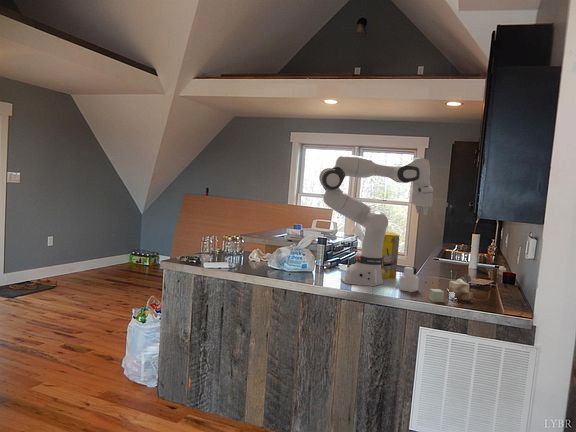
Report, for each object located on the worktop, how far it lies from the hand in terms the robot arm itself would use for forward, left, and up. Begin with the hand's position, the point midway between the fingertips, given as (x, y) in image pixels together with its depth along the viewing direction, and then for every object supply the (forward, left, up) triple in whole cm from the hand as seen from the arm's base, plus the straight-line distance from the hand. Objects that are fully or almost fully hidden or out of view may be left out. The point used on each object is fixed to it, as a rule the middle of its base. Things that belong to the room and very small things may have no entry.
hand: (421, 214), depth 252 cm
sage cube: (-1, -31, -39) cm, 50 cm away
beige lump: (+13, -24, -39) cm, 48 cm away
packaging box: (-14, +23, -39) cm, 47 cm away
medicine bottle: (-8, -12, -39) cm, 41 cm away
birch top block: (+13, -24, -35) cm, 44 cm away
